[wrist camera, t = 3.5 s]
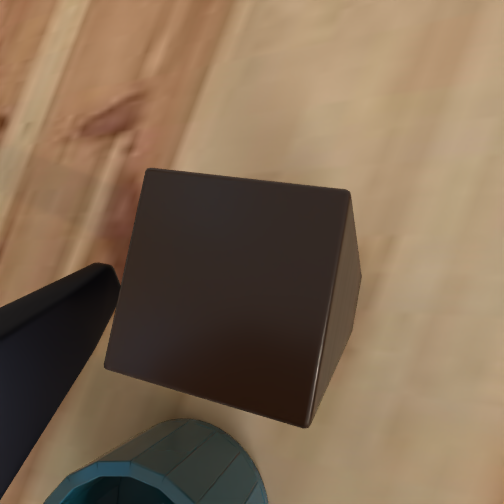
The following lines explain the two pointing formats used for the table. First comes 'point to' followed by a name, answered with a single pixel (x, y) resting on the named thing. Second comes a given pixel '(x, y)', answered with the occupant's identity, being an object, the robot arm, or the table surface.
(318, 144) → the table surface
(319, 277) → the brown square bar
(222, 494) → the coffee cup
